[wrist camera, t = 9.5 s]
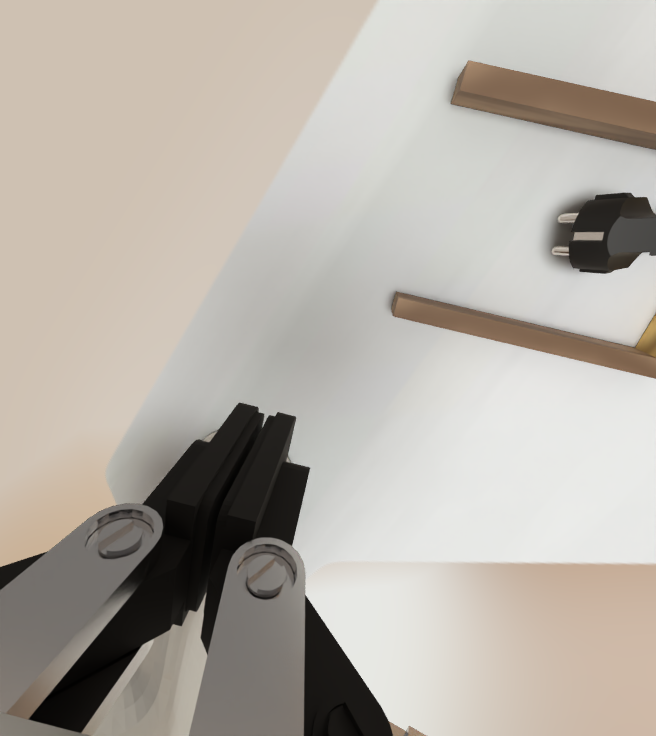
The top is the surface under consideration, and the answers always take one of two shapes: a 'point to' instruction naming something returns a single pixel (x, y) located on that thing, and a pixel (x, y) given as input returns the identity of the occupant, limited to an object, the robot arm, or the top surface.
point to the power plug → (609, 233)
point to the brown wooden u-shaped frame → (566, 111)
